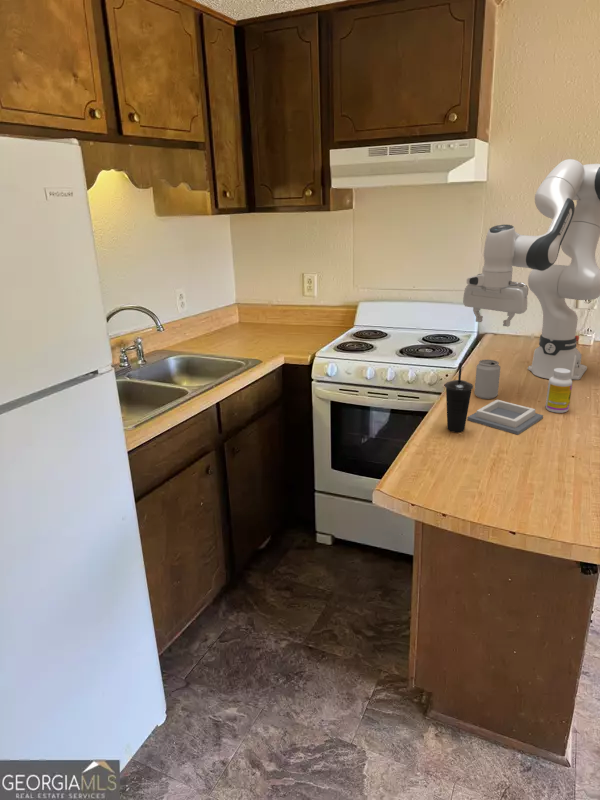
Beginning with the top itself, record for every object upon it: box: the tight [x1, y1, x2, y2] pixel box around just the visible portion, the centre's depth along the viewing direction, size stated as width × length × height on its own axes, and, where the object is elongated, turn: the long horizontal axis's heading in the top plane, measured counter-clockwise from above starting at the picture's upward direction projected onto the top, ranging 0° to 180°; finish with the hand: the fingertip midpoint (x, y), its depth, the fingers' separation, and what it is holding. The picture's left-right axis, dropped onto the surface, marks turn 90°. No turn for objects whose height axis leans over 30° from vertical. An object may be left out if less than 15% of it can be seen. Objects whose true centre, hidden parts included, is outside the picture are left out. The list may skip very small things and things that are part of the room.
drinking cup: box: [444, 362, 474, 433], centre depth 163 cm, size 8×8×20 cm
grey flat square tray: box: [466, 399, 544, 436], centre depth 171 cm, size 16×16×3 cm
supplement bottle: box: [545, 368, 573, 414], centre depth 175 cm, size 7×7×13 cm
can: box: [474, 359, 501, 400], centre depth 188 cm, size 8×8×12 cm
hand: (492, 323), depth 181 cm, fingers open, 8 cm apart
